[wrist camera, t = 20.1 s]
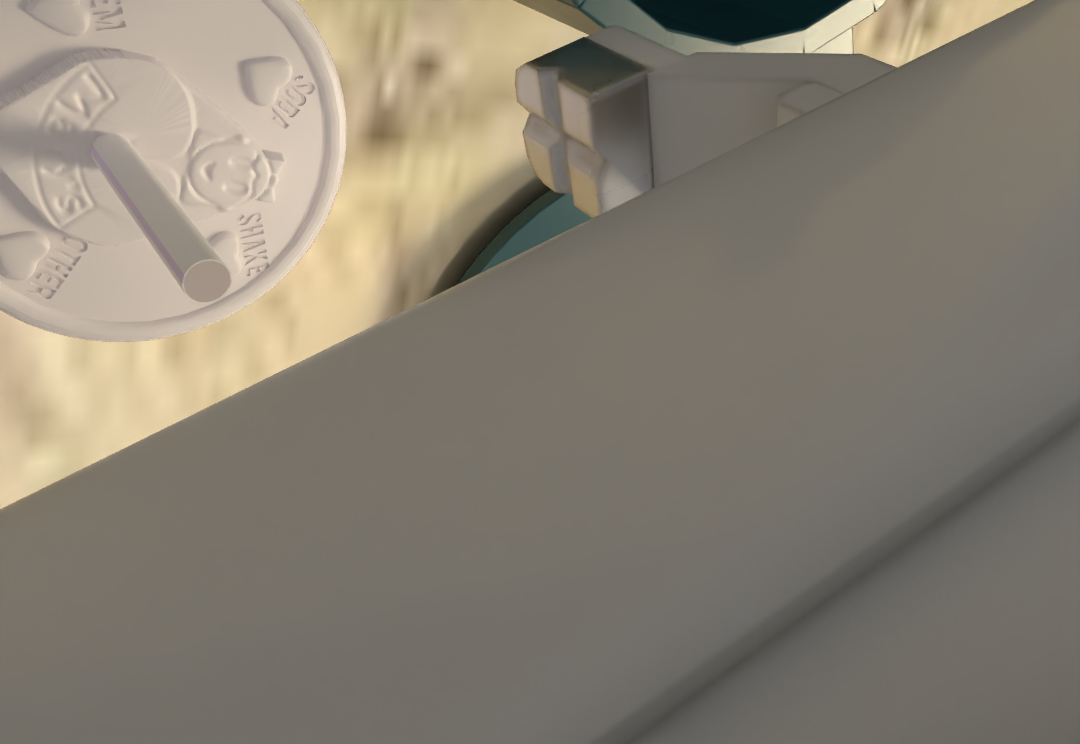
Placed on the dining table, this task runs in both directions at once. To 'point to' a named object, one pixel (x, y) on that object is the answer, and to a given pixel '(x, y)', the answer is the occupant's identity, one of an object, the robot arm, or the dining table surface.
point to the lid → (529, 230)
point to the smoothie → (159, 159)
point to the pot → (722, 22)
